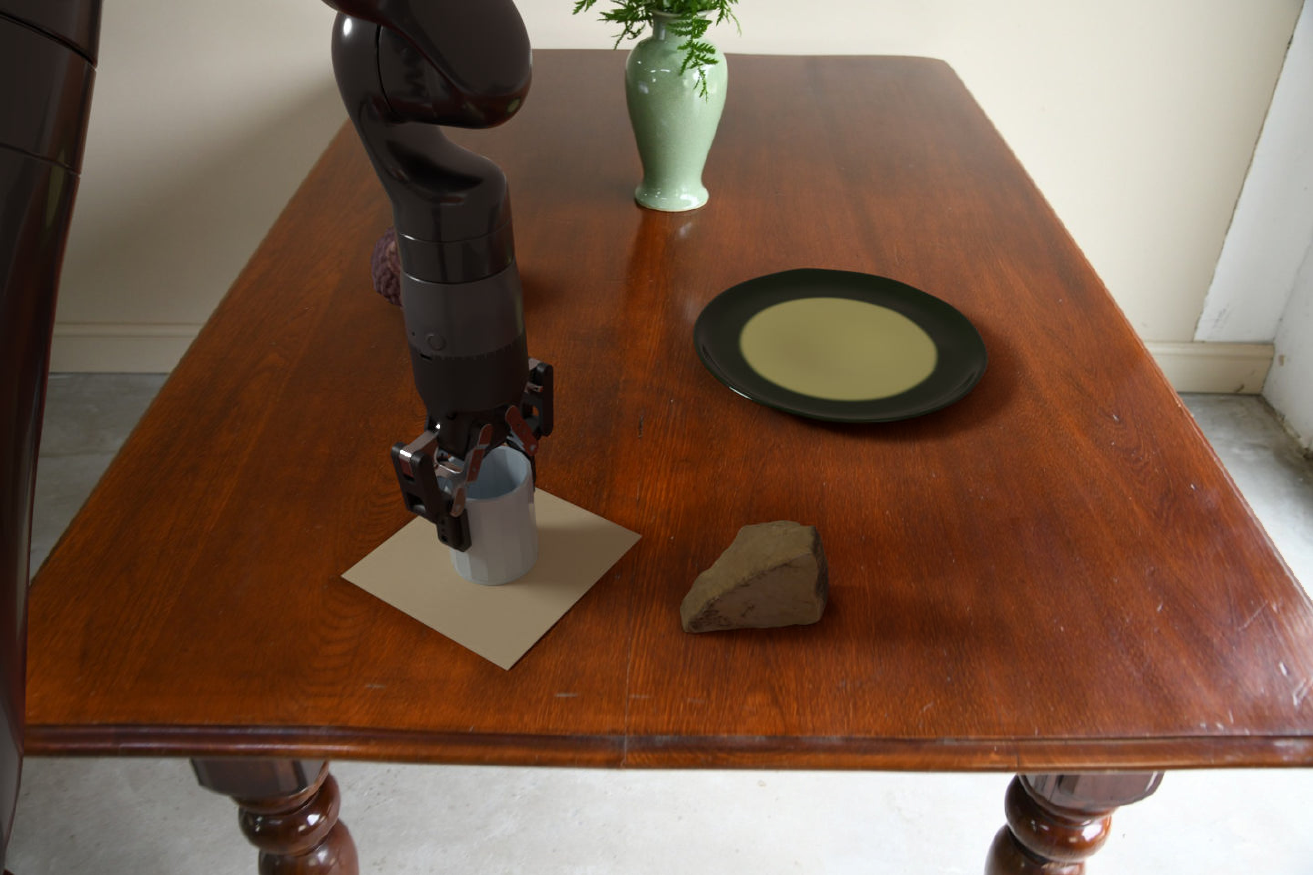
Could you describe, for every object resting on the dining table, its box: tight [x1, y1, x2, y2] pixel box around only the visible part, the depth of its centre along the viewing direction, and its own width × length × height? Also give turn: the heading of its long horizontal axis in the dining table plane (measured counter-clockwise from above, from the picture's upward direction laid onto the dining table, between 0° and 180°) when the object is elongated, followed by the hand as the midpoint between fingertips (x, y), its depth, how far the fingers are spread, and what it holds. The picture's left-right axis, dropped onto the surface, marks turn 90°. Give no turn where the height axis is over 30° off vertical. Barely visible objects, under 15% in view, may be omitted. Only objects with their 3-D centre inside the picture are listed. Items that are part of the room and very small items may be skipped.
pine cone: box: [370, 226, 403, 313], centre depth 106 cm, size 18×10×10 cm
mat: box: [340, 486, 643, 672], centre depth 77 cm, size 16×16×1 cm
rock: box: [679, 519, 830, 634], centre depth 71 cm, size 11×9×10 cm
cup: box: [445, 445, 539, 585], centre depth 75 cm, size 6×6×8 cm
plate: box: [692, 267, 989, 425], centre depth 99 cm, size 28×28×2 cm
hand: (490, 517), depth 75 cm, fingers closed on cup, 6 cm apart
